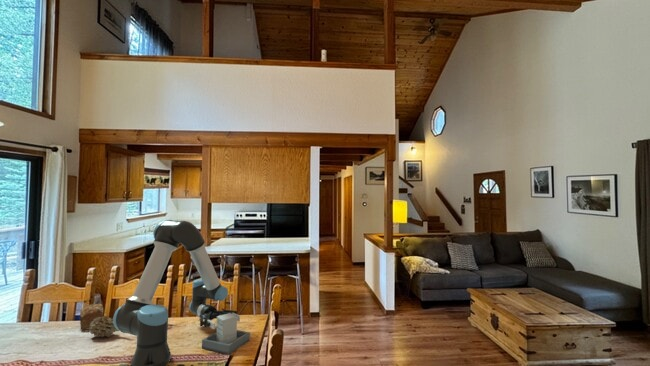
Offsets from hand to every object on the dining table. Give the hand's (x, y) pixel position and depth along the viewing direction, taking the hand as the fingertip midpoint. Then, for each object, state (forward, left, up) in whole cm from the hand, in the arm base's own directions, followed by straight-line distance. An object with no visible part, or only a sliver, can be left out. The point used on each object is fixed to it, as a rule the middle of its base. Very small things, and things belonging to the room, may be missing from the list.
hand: (227, 322), depth 154 cm
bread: (-90, -9, -11) cm, 91 cm away
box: (0, -1, -10) cm, 10 cm away
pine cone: (-62, -17, -11) cm, 65 cm away
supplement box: (0, -1, -10) cm, 10 cm away
